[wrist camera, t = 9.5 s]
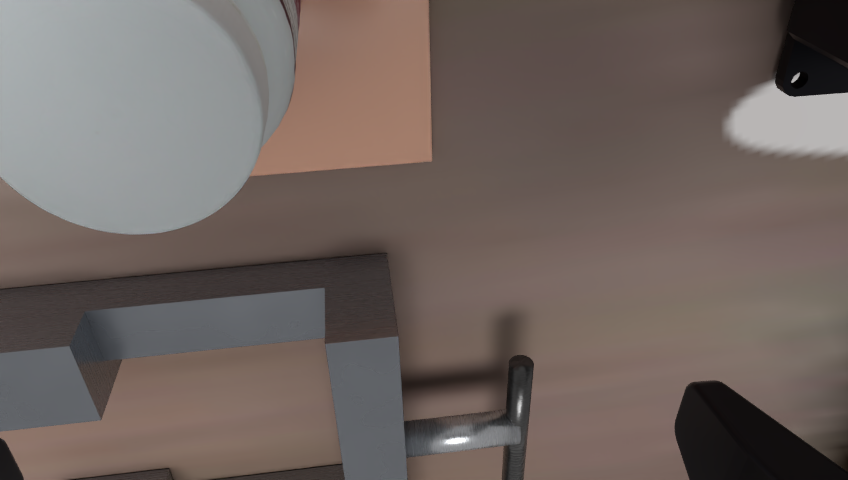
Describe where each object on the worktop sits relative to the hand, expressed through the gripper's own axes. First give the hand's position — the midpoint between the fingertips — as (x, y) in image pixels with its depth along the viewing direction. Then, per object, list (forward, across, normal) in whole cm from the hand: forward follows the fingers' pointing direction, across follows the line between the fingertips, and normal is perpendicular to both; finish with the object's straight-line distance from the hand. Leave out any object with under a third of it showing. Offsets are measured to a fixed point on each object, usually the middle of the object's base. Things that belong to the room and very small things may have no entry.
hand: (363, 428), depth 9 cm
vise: (+12, +3, +12) cm, 17 cm away
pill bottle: (+12, +3, -3) cm, 12 cm away
